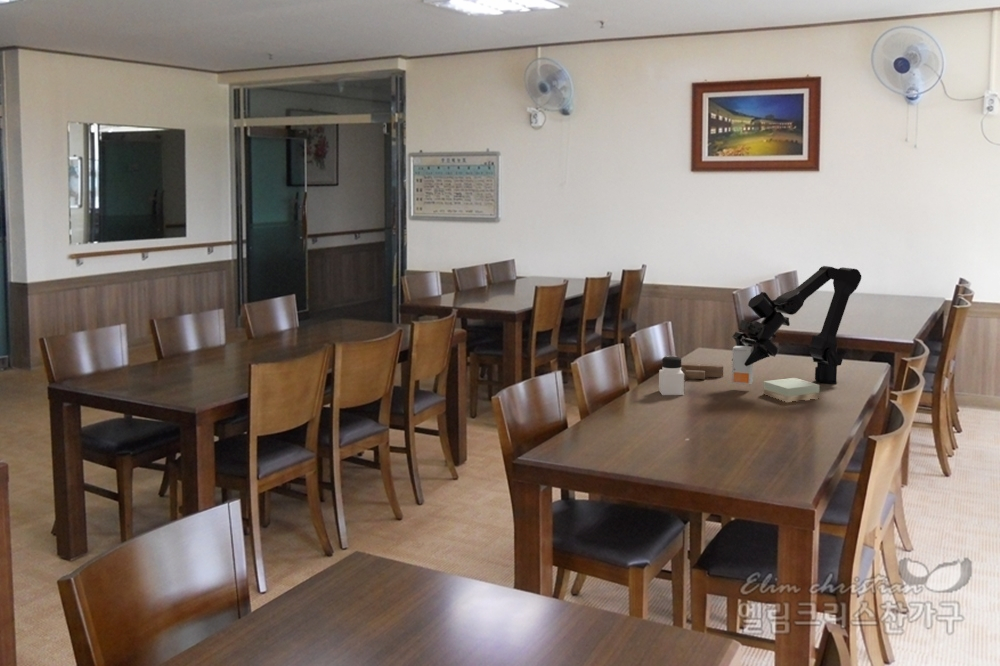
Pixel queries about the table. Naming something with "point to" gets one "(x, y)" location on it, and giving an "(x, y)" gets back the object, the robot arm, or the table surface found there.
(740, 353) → the skincare box
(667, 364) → the medicine bottle
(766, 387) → the top slab
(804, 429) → the table surface
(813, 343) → the robot arm
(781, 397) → the bottom slab
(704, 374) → the wooden block set
